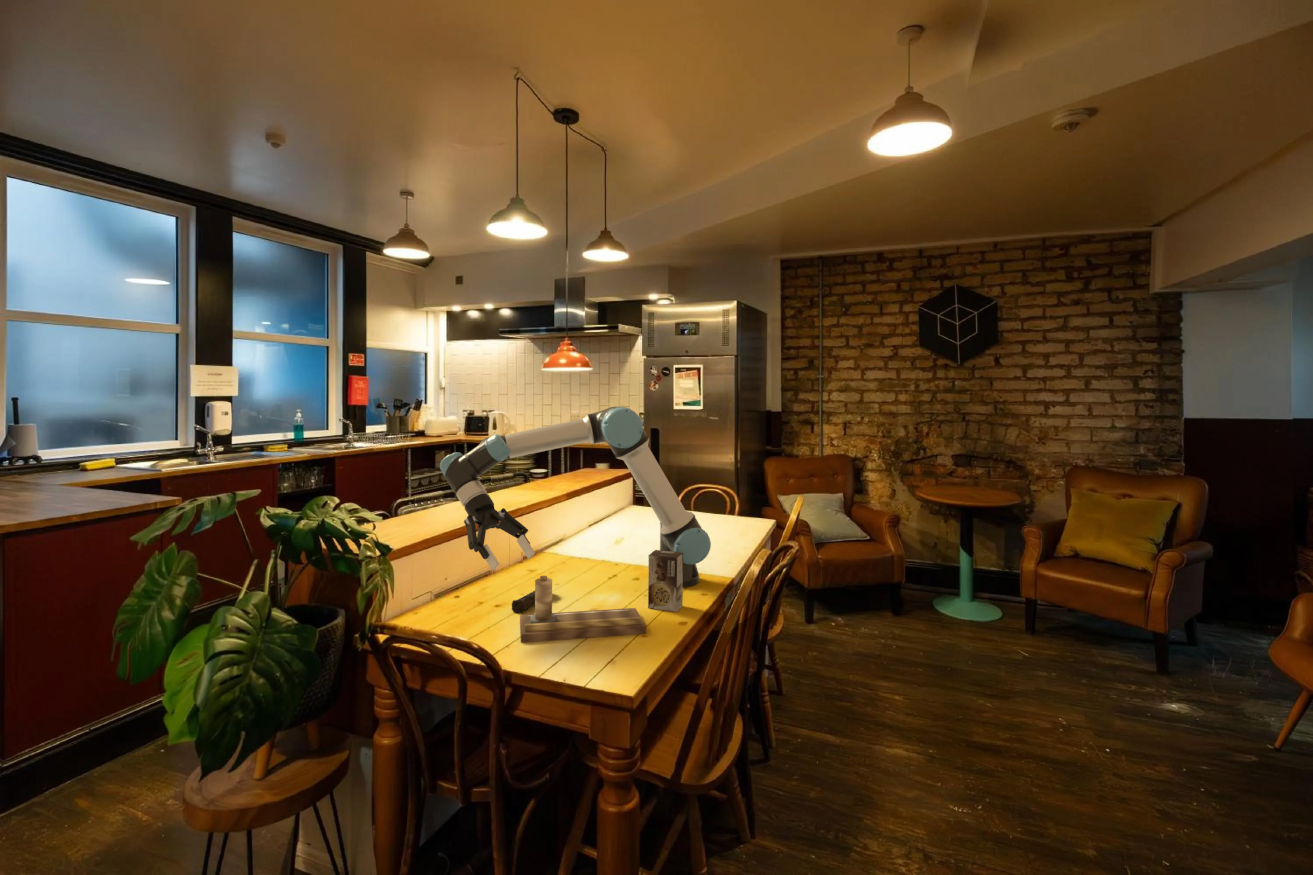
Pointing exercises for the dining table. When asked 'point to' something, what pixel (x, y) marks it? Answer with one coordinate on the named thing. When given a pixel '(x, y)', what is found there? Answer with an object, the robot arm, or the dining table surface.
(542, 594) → the peg with round base
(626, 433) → the robot arm
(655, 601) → the coffee box
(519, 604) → the hand tool
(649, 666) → the dining table surface
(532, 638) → the walnut board
